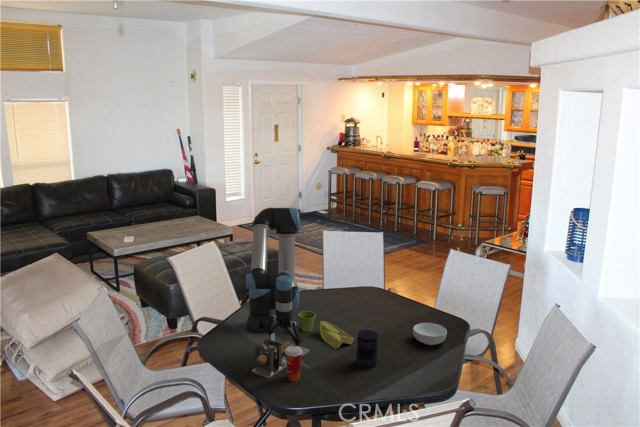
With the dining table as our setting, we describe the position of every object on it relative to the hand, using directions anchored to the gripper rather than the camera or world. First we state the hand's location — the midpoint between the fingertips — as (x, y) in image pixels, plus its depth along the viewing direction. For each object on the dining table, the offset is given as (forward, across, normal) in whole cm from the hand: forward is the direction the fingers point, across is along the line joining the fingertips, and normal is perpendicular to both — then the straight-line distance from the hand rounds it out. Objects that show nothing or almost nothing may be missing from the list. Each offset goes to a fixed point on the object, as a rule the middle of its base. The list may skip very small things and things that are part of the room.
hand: (283, 350), depth 261 cm
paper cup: (+4, +14, -11) cm, 18 cm away
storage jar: (+5, +34, +19) cm, 39 cm away
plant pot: (+5, -10, +33) cm, 35 cm away
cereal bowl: (+5, +49, +58) cm, 76 cm away
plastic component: (+5, +9, +32) cm, 34 cm away
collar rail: (+4, 0, -2) cm, 5 cm away
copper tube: (0, 0, -8) cm, 8 cm away
